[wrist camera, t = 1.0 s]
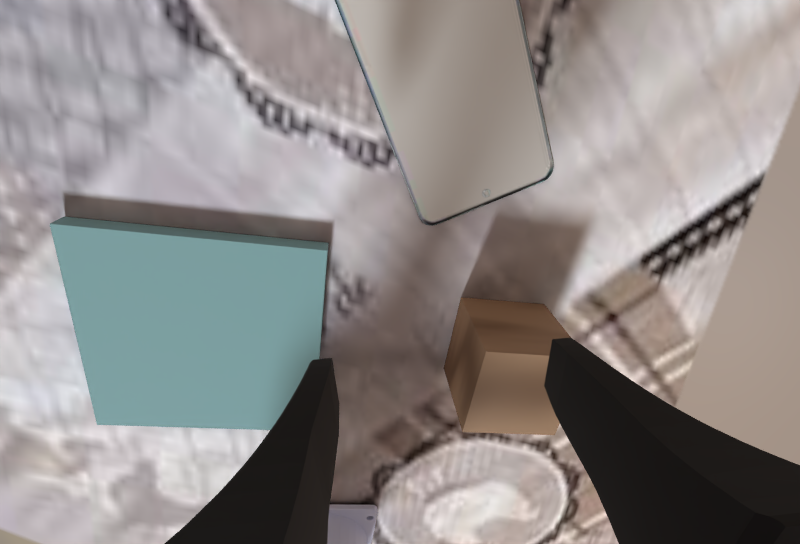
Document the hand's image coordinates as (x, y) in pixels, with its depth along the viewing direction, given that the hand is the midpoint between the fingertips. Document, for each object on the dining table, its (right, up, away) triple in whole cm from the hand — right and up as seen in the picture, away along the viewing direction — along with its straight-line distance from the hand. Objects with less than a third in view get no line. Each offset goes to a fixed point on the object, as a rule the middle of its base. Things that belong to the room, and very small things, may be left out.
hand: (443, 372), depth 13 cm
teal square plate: (-12, 0, +9) cm, 15 cm away
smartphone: (0, +13, +4) cm, 14 cm away
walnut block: (+4, -1, +11) cm, 12 cm away
